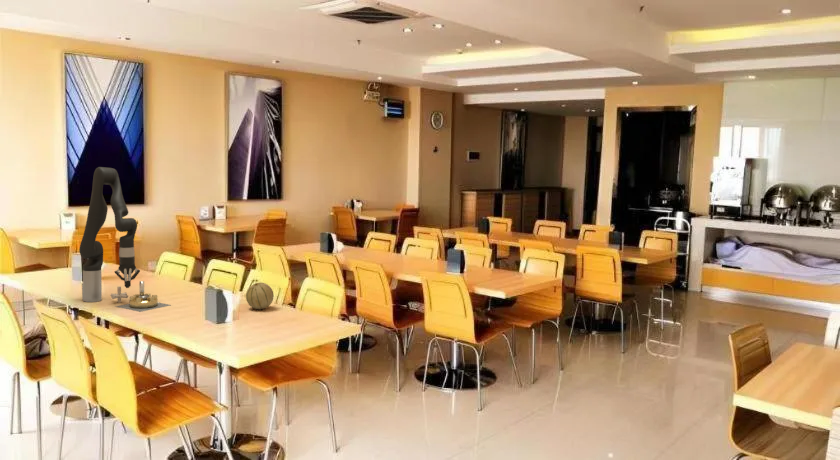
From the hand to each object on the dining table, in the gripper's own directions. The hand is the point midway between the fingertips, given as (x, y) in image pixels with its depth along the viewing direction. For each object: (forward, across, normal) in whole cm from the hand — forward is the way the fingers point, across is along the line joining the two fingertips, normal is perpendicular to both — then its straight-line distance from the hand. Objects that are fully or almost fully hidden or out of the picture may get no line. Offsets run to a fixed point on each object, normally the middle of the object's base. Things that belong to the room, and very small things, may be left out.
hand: (127, 287), depth 349 cm
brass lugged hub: (+10, +7, -5) cm, 13 cm away
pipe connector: (+11, -3, +8) cm, 14 cm away
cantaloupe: (+12, +63, -29) cm, 70 cm away
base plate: (+11, +7, -5) cm, 14 cm away
